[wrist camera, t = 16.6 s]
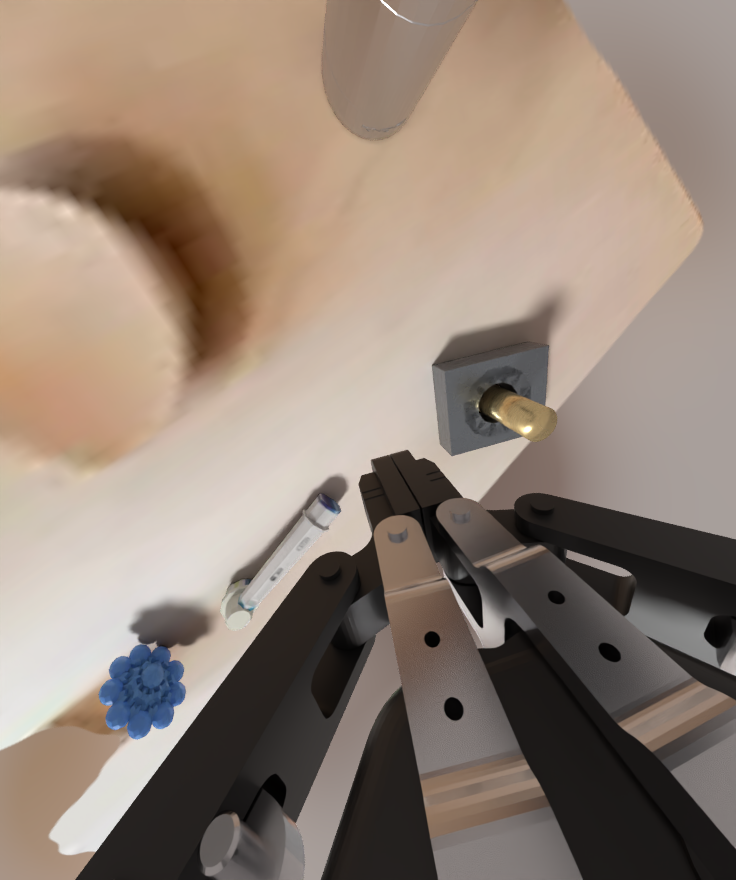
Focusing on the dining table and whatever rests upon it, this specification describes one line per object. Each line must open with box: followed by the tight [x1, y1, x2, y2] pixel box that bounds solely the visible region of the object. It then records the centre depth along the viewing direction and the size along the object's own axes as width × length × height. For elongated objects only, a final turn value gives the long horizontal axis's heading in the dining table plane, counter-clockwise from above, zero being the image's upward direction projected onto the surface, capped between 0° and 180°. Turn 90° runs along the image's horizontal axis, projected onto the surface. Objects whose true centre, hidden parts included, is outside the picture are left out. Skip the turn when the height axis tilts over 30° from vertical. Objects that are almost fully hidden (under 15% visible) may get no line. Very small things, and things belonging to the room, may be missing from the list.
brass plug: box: [478, 385, 557, 442], centre depth 39 cm, size 4×4×12 cm
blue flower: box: [99, 644, 186, 739], centre depth 46 cm, size 12×7×12 cm, turn 55°
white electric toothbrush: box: [220, 494, 341, 631], centre depth 47 cm, size 5×7×25 cm
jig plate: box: [432, 342, 549, 456], centre depth 43 cm, size 12×14×4 cm
